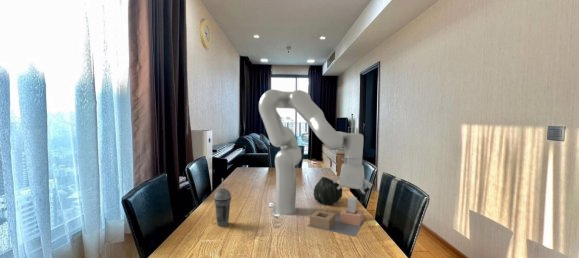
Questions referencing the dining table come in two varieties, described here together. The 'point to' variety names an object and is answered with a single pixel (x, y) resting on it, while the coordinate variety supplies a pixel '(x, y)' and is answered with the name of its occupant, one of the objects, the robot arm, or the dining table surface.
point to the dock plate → (338, 221)
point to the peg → (352, 205)
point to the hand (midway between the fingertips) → (350, 199)
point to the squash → (326, 192)
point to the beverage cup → (222, 206)
